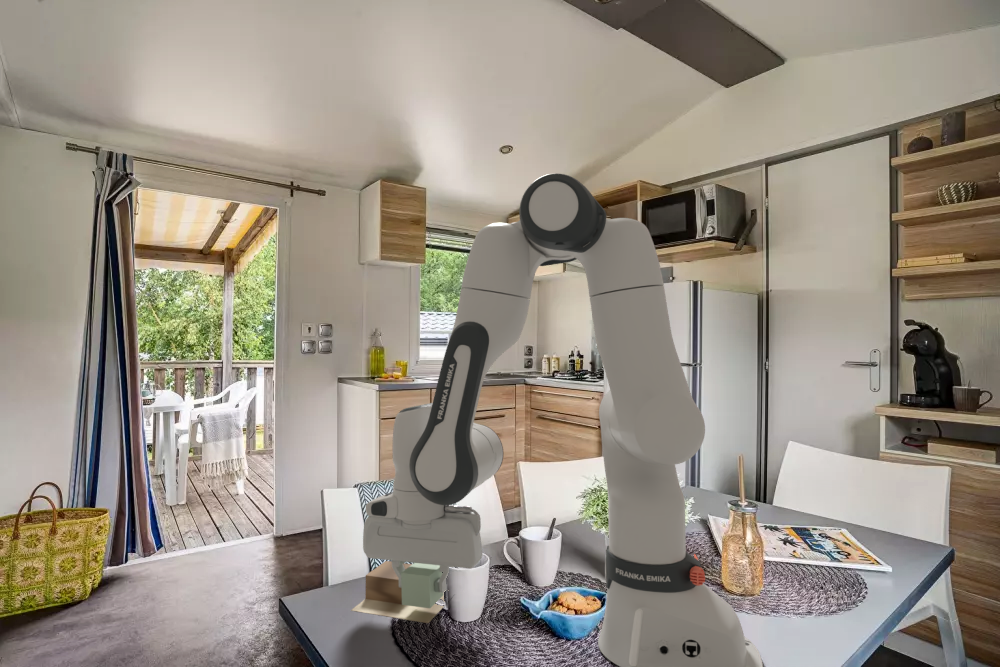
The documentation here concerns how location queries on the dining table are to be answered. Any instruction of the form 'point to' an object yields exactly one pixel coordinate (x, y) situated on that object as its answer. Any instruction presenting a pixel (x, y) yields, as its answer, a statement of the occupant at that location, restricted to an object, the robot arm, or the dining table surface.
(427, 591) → the sage cube
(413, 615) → the birch board
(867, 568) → the dining table surface
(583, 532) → the dining table surface
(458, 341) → the robot arm
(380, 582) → the walnut base
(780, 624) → the dining table surface
